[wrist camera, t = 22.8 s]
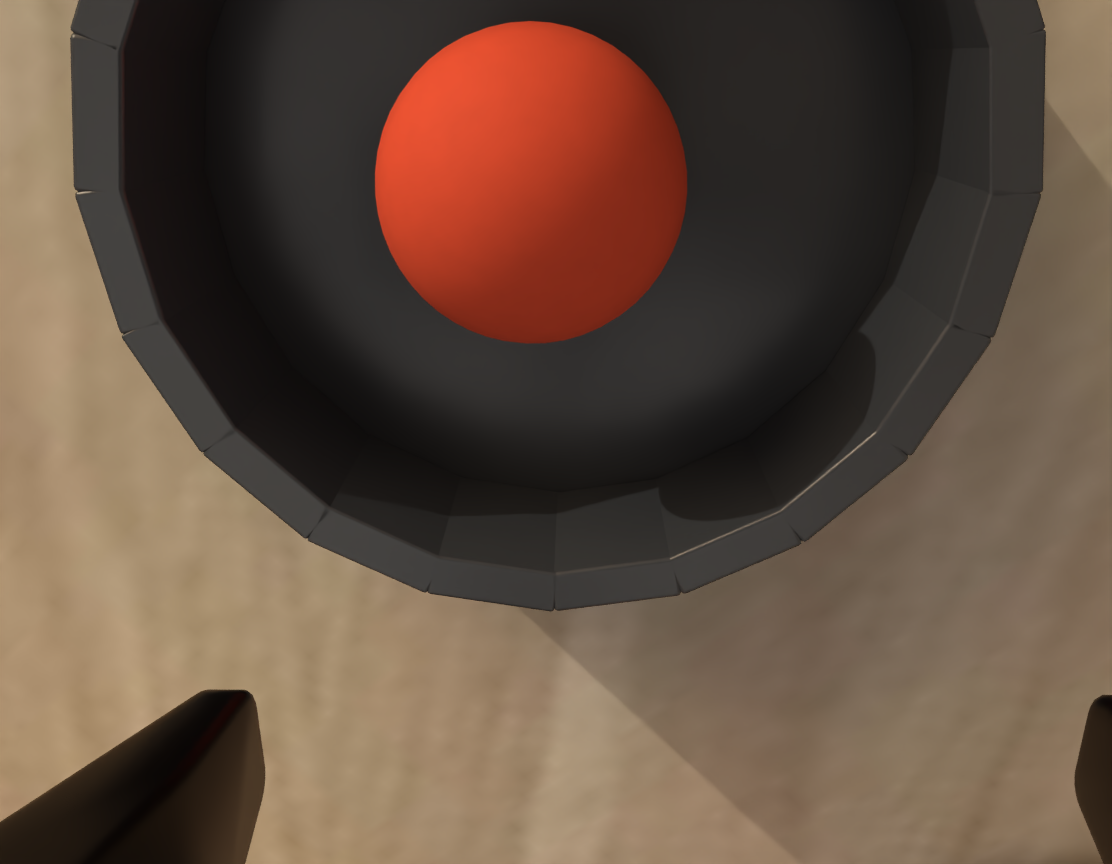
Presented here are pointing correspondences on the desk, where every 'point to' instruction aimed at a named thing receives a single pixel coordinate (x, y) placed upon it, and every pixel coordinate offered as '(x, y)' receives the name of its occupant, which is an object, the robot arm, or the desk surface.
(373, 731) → the desk surface
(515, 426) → the black round open container
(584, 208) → the ball
